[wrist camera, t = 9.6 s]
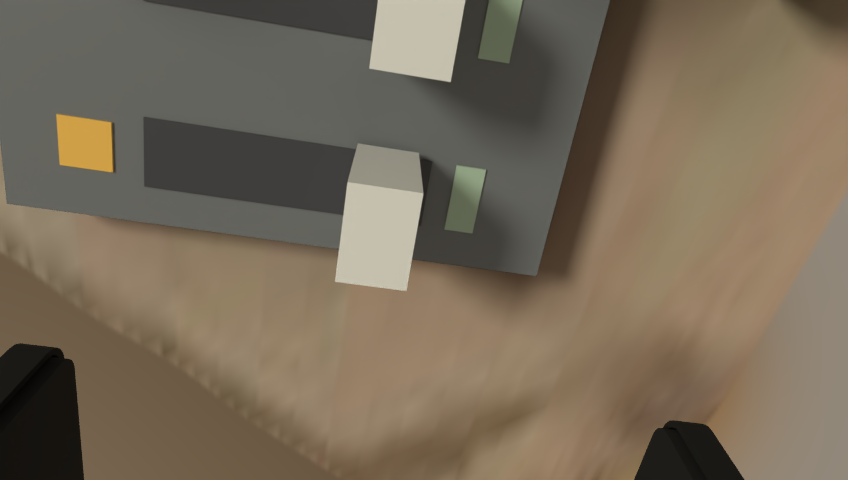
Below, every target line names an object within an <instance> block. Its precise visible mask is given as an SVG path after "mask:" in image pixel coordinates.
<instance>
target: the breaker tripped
mask: <svg viewBox="0 0 848 480" xmlns="http://www.w3.org/2000/svg"><path fill="white" fill-rule="evenodd" d="M422 199H423V185H422V176H421V167H420V159H419V153H417V152H410V151H404V150H397V149H391V148H384V147H378V146H372V145H365V144H359V143H358V145H357V148H356V152H355V156H354V159H353V163H352V167H351V171H350V174H349V178H348V182H347V190H346V198H345V206H344V214H343V222H342V230H341V238H340V246H339V254H338V262H337V270H336V278H335V282H342V283H350V284H357V285H365V286H372V287H380V288H388V289H395V290H403V291H406V290H407V284H408V279H409V273H410V267H411V262H412V256H413V250H414V245H415V239H416V233H417V227H418V222H419V216H420V210H421V205H422Z"/></svg>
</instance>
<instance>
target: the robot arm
mask: <svg viewBox="0 0 848 480" xmlns="http://www.w3.org/2000/svg"><path fill="white" fill-rule="evenodd" d="M0 480H84V474H83V462H82V450H81V439H80V426H79V415H78V403H77V391H76V380H75V368H74V363H73V361H72V360H70V359H64V355H63V352H62V351H61V349H59V348H54V347H46V346H37V345H29V344H16V345H14V346H13V347H11V348H10V349H9V350H7V351H6V352H5V353H4V354H3V355H2V356H1V357H0ZM634 480H744V479H743V477H742V476H741V474H740V473H739V471H738V469H737V468H736V466H735V465H734V464H733V462H732V461H731V459H730V457H729V456H728V454H727V453H726V451H725V450H724V448H723V447H722V445H721V444H720V443H719V441H718V439H717V438H716V436H715V435H714V433H713V432H712V430H711V429H710V428H709V427H708V426H706V425H704V424H698V423H690V422H682V421H669V422H667V423H666V424H665V425H664V427H663V428H658V429H657V430H655V432H654V434H653V436H652V438H651V441H650V443H649V445H648V448H647V450H646V453H645V455H644V457H643V460H642V462H641V465H640V467H639V469H638V472H637V474H636V477H635V479H634Z"/></svg>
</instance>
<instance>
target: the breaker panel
mask: <svg viewBox="0 0 848 480" xmlns="http://www.w3.org/2000/svg"><path fill="white" fill-rule="evenodd" d="M609 3H610V0H465V5H464V11H463V16H462V22H461V28H460V33H459V39H458V44H457V50H456V55H455V61H454V66H453V72H452V77H451V82H447V81H441V80H435V79H429V78H423V77H417V76H411V75H405V74H399V73H393V72H387V71H381V70H375V69H369V66H370V58H371V51H372V43H373V35H374V27H375V19H376V12H377V4H378V0H0V142H1V152H2V161H3V171H4V180H5V190H6V199H7V204H13V205H21V206H28V207H35V208H43V209H50V210H57V211H64V212H72V213H79V214H86V215H94V216H101V217H108V218H115V219H123V220H130V221H137V222H145V223H152V224H159V225H166V226H174V227H181V228H188V229H196V230H203V231H210V232H218V233H225V234H232V235H239V236H247V237H254V238H261V239H269V240H276V241H283V242H290V243H298V244H305V245H312V246H320V247H327V248H334V249H339V246H340V238H341V230H342V222H343V214H344V206H345V198H346V190H347V182H348V178H349V174H350V171H351V167H352V163H353V159H354V156H355V152H356V148H357V145H358V143H359V144H365V145H372V146H378V147H384V148H391V149H397V150H404V151H410V152H417V153H419V159H420V167H421V176H422V185H423V199H422V205H421V210H420V216H419V222H418V227H417V233H416V239H415V245H414V250H413V256H412V259H414V260H422V261H429V262H436V263H444V264H451V265H458V266H465V267H473V268H480V269H487V270H495V271H502V272H509V273H516V274H524V275H531V276H537V272H538V268H539V265H540V261H541V257H542V253H543V250H544V246H545V242H546V238H547V235H548V231H549V227H550V223H551V220H552V216H553V212H554V209H555V205H556V201H557V197H558V194H559V190H560V186H561V182H562V179H563V175H564V171H565V167H566V164H567V160H568V156H569V152H570V149H571V145H572V141H573V137H574V134H575V130H576V126H577V122H578V119H579V115H580V111H581V107H582V104H583V100H584V96H585V92H586V89H587V85H588V81H589V78H590V74H591V70H592V66H593V63H594V59H595V55H596V51H597V48H598V44H599V40H600V36H601V33H602V29H603V25H604V21H605V18H606V14H607V10H608V6H609Z"/></svg>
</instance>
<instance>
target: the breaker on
mask: <svg viewBox="0 0 848 480" xmlns="http://www.w3.org/2000/svg"><path fill="white" fill-rule="evenodd" d="M464 5H465V0H378V4H377V12H376V19H375V27H374V35H373V43H372V51H371V58H370V66H369V69H375V70H381V71H387V72H393V73H399V74H405V75H411V76H417V77H423V78H429V79H435V80H441V81H447V82H451V77H452V72H453V66H454V61H455V55H456V50H457V44H458V39H459V33H460V28H461V22H462V16H463V11H464Z"/></svg>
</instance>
